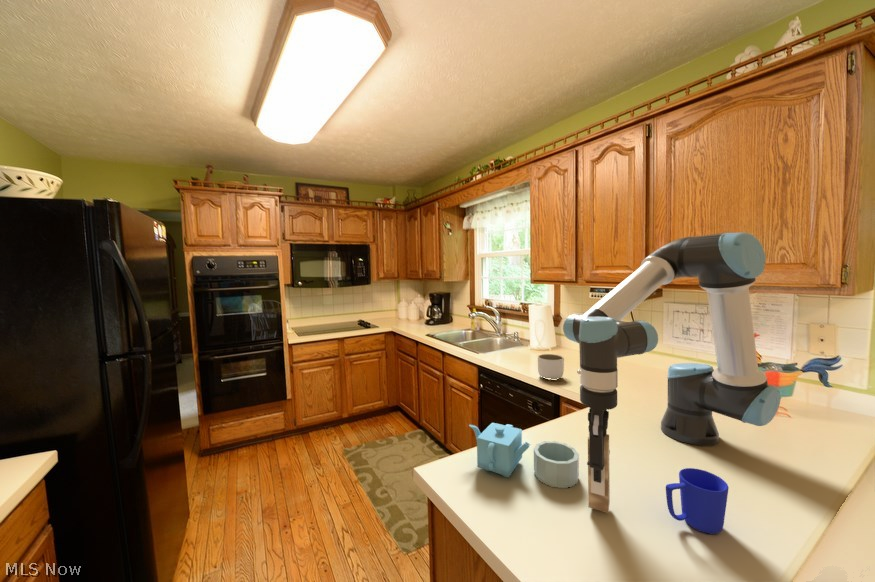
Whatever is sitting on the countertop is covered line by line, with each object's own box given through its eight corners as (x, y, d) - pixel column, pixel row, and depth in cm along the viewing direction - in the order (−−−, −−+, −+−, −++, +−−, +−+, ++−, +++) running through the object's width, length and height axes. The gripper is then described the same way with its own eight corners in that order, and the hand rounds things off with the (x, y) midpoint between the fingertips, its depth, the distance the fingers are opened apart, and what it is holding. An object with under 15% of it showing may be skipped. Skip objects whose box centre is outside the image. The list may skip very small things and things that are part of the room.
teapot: (520, 491, 83) (520, 447, 83) (457, 470, 93) (456, 431, 92) (538, 460, 97) (538, 422, 96) (481, 444, 106) (480, 410, 106)
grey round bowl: (581, 470, 92) (581, 447, 91) (574, 493, 82) (574, 468, 82) (540, 459, 97) (540, 437, 97) (529, 480, 88) (529, 456, 87)
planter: (542, 373, 177) (542, 352, 177) (566, 377, 170) (566, 355, 169) (534, 379, 167) (534, 358, 167) (559, 384, 160) (559, 361, 159)
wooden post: (609, 502, 77) (609, 434, 76) (608, 513, 74) (607, 442, 73) (590, 496, 79) (590, 430, 78) (588, 507, 76) (587, 438, 75)
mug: (652, 513, 75) (653, 470, 74) (702, 509, 76) (703, 466, 75) (682, 543, 67) (683, 495, 66) (738, 537, 68) (739, 490, 67)
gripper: (585, 373, 84) (586, 463, 85) (573, 397, 69) (575, 505, 71) (619, 377, 80) (619, 471, 81) (614, 403, 65) (615, 517, 67)
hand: (598, 487), depth 76 cm, fingers closed on wooden post, 4 cm apart
